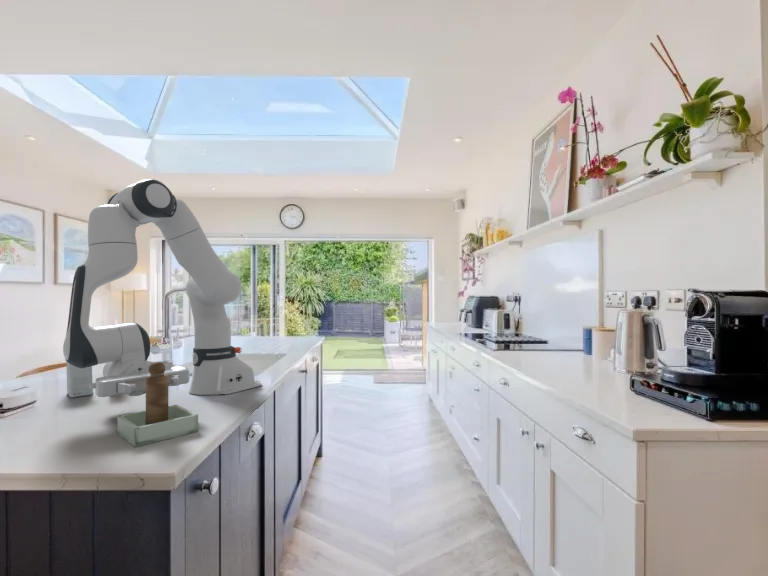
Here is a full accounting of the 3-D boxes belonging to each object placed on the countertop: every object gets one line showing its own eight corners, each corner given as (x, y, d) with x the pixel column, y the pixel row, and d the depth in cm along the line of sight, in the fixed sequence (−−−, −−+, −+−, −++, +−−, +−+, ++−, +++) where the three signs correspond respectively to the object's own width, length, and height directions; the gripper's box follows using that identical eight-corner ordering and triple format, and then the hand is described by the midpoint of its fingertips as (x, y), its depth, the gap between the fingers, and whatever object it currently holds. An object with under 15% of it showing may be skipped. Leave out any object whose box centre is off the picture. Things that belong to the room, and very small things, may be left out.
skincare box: (93, 394, 131) (93, 347, 131) (69, 398, 127) (69, 349, 127) (88, 390, 137) (88, 345, 137) (65, 393, 133) (65, 347, 133)
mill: (164, 423, 99) (164, 359, 99) (171, 427, 95) (171, 361, 96) (142, 428, 95) (142, 361, 95) (149, 432, 92) (149, 364, 92)
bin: (176, 419, 104) (176, 404, 104) (198, 431, 95) (198, 414, 95) (116, 432, 95) (116, 416, 95) (135, 446, 86) (135, 428, 86)
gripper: (87, 371, 99) (102, 379, 89) (176, 360, 114) (198, 366, 104) (87, 397, 99) (103, 408, 89) (176, 383, 114) (198, 391, 104)
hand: (155, 385), depth 97 cm, fingers open, 8 cm apart
